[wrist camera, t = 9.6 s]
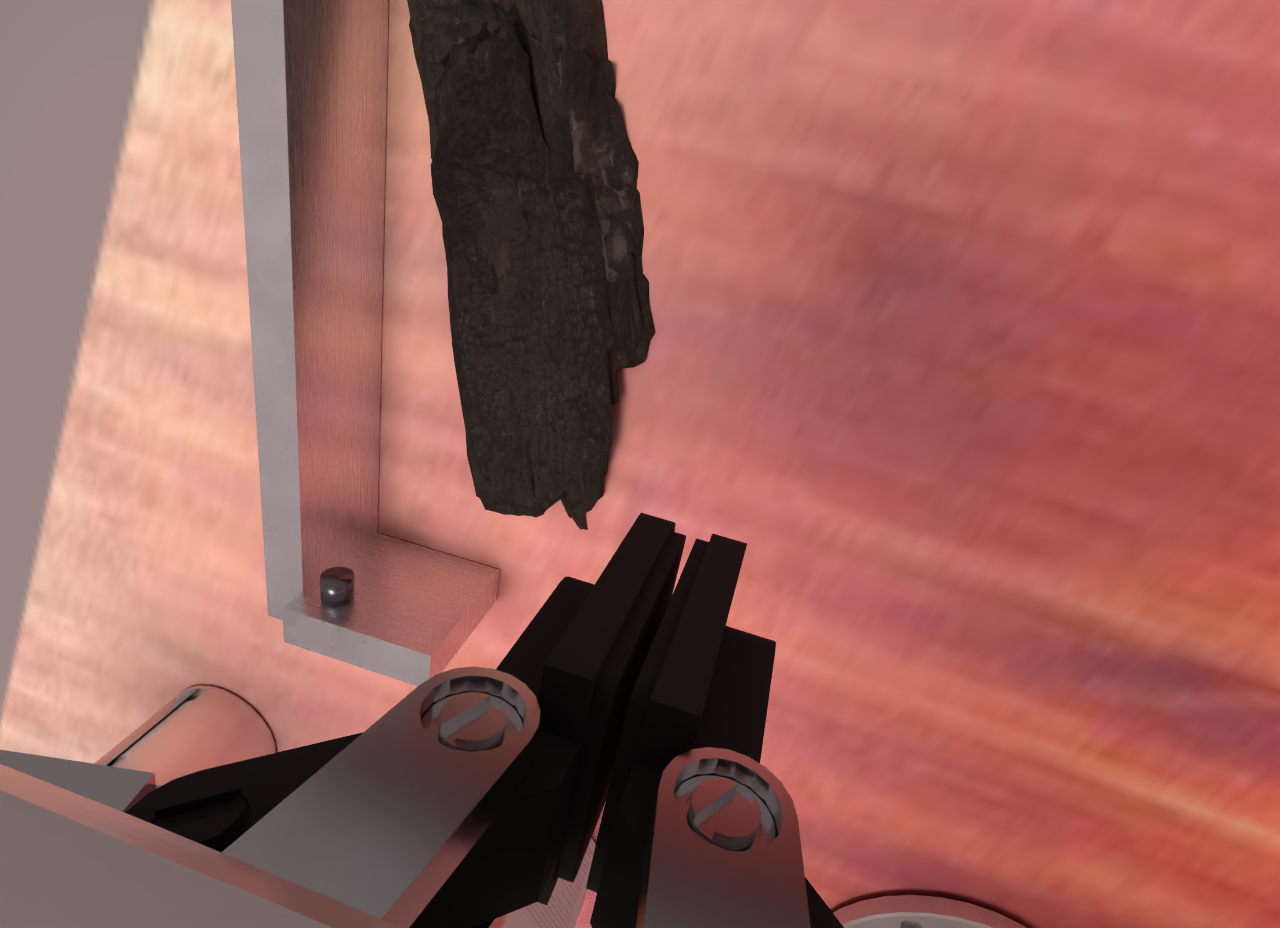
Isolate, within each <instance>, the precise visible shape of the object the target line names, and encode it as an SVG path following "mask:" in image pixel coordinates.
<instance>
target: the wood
mask: <svg viewBox="0 0 1280 928" xmlns="http://www.w3.org/2000/svg"><path fill="white" fill-rule="evenodd" d="M407 1H408V6H409V11H410V16H411V17H410V23H409V27H410V31H411V35H412V42H413V48H414V53H415V59H416V62H417V66H418V70H419V74H420V78H421V82H422V87H423V93H424V98H425V104H426V109H427V114H428V118H429V127H430V145H431V159H432V164H431V176H432V186H433V195H434V198H435V201H436V204H437V207H438V210H439V213H440V217H441V220H442V230H443V240H444V246H445V253H446V261H447V274H448V301H449V311H450V325H451V335H452V347H453V353H454V362H455V368H456V374H457V380H458V386H459V392H460V399H461V405H462V412H463V418H464V423H465V429H466V444H467V457H468V461H469V465H470V469H471V474H472V478H473V482H474V487H475V491H476V496H477V497H479V498H480V499H481V501H482V503H483V506H484V508H485V510H490V511H494V512H498V513H501V514H505V515H507V514H510V515H517V516H521V515H526V516H533V517H538V516H540V515H543V514H544V512H545V511H546V510H547V509H548V508H549V507H551V506H552V505H553V504H555V503H556V502H557V501H559V500H560V499H561V501H562V503H563V505H564V508H565V510H566V512H567V514H568V516H569V518H573V520H574V521H575V523H576V524H577V526H578V527H579V528H580V529H586V530H588V529H587V526H586V522H585V516H584V513H585V512H588V511H590V510H592V508H593V506H594V504H595V503H596V502H597V500H598V499H600V498H601V497H603V485H604V484H603V480H604V478H605V476H606V473H607V468H608V459H609V451H610V449H611V443H612V408H611V405H613V404H615V403H617V402H619V388H618V381H617V374H616V370H618V369H623V368H630V367H635V366H637V365H639V364H641V363H643V362H645V359H646V355H647V351H648V348H649V344H650V341H651V339H652V337H653V335H654V334H655V331H654V326H653V321H652V316H651V311H650V306H649V281H648V280H647V278H646V277H645V275H644V274H643V268H642V248H643V238H644V226H643V220H642V213H641V206H640V193H639V192H638V190H637V178H638V164H639V162H638V160H637V157H636V155H635V153H634V151H633V149H632V147H631V144H630V142H629V140H628V137H627V135H626V131H625V127H624V123H623V119H622V115H621V111H620V107H619V105H618V103H617V101H616V99H615V98H614V97H615V81H614V75H613V69H612V63H611V62H610V61H609V60H608V59H607V45H606V32H605V24H604V17H603V8H602V1H601V0H407ZM566 496H567V497H566Z"/></svg>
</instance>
